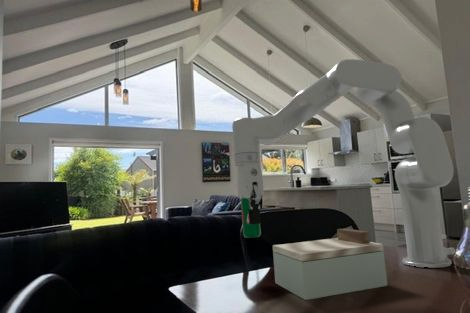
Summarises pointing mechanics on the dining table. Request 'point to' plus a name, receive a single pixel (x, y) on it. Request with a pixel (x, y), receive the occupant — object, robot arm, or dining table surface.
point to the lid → (330, 246)
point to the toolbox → (330, 274)
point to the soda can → (248, 229)
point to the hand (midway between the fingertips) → (251, 222)
